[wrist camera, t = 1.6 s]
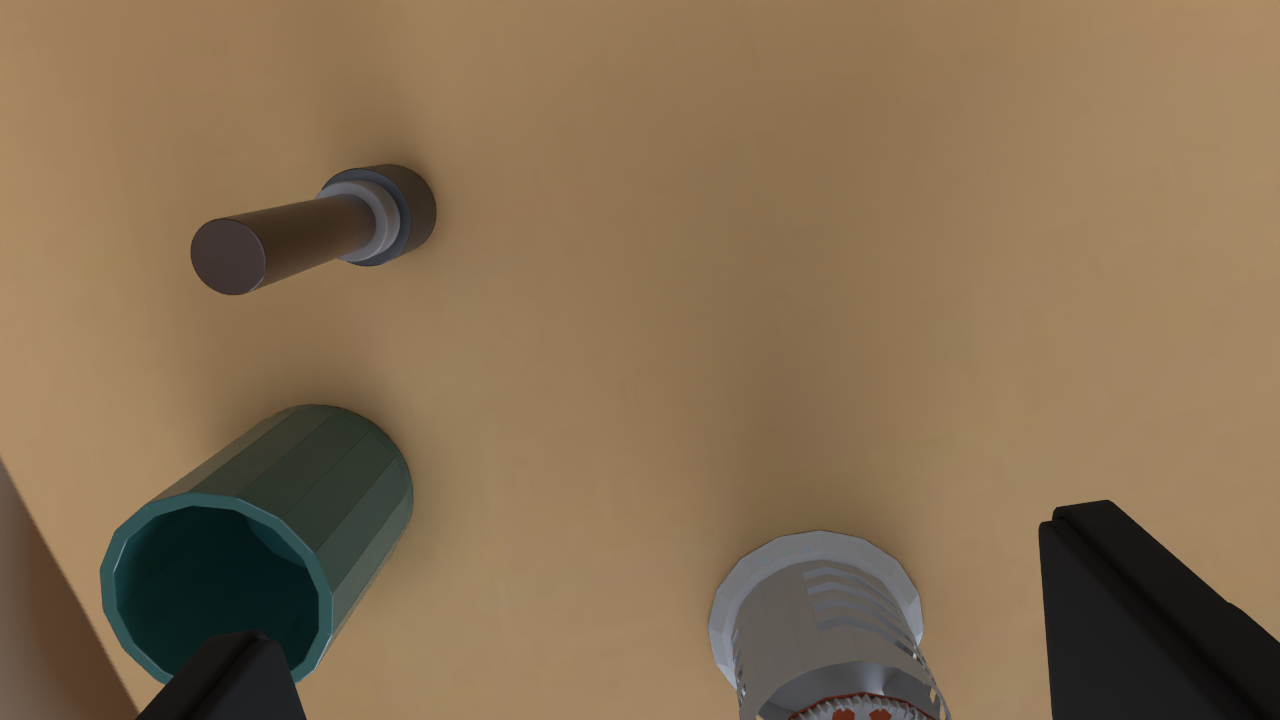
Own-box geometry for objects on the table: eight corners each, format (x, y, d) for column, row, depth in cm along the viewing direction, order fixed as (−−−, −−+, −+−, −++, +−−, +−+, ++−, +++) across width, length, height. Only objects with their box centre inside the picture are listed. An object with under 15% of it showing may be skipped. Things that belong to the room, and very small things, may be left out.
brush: (334, 224, 35) (137, 281, 22) (372, 147, 35) (190, 158, 22) (412, 269, 36) (263, 350, 23) (451, 193, 35) (320, 232, 22)
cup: (199, 476, 39) (52, 585, 29) (324, 368, 37) (210, 447, 28) (325, 601, 40) (222, 741, 31) (450, 502, 38) (380, 619, 29)
